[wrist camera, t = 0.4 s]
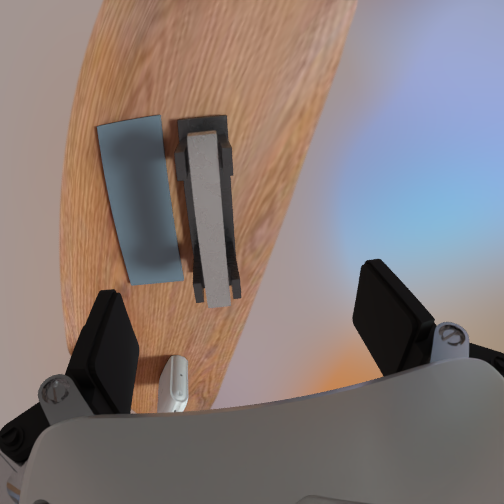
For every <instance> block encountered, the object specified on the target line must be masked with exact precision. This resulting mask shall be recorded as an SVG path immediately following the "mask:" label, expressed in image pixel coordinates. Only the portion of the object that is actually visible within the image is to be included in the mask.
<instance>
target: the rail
mask: <svg viewBox="0 0 504 504" xmlns="http://www.w3.org/2000/svg"><path fill="white" fill-rule="evenodd" d="M187 143H188V153H189V163H190V173H191V183H192V192H193V200H194V209H195V217H196V225H197V233H198V241H199V248H200V255H201V262H202V269H203V276H204V283H205V290H206V296H207V302H208V308H215V307H224V306H231V301H230V291H229V281H228V270H227V259H226V248H225V237H224V225H223V213H222V201H221V188H220V175H219V161H218V147H217V133H216V131H205V132H195V133H188V135H187Z"/></svg>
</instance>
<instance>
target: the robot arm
mask: <svg viewBox="0 0 504 504" xmlns="http://www.w3.org/2000/svg"><path fill="white" fill-rule="evenodd" d="M434 320H435V319H434V318H433V316H432V315H431V314H430V313H429V312H428V311H427V309H426V308H425V307H424V306H423V305H422V304H421V303H420V301H419V300H418V299H417V298H416V297H415V296H414V295H413V294H412V292H411V291H410V290H409V289H408V288H407V287H406V286H405V285H404V284H403V283H402V281H401V280H400V279H399V278H398V277H397V276H396V275H395V274H394V273H393V272H392V271H391V270H390V269H389V268H388V267H387V265H386V264H384V262H383V261H382V260H381V259H374V260H367V261H366V262H365V264H364V265H362V266H361V271H360V277H359V284H358V290H357V296H356V301H355V307H354V312H353V324H354V326H355V328H356V329H357V331H358V333H359V334H360V336H361V338H362V340H363V341H364V343H365V345H366V346H367V348H368V350H369V352H370V353H371V355H372V357H373V359H374V360H375V362H376V364H377V366H378V367H379V369H380V371H381V373H382V374H383V376H384V377H381V378H377V379H374V380H370V381H366V382H363V383H359V384H355V385H351V386H347V387H343V388H339V389H335V390H330V391H326V392H321V393H317V394H312V395H307V396H302V397H296V398H291V399H285V400H280V401H274V402H268V403H261V404H254V405H247V406H239V407H230V408H221V409H213V410H212V409H211V410H200V411H186V412H168V413H143V414H130V411H131V403H132V396H133V389H134V382H135V376H136V369H137V363H138V357H139V345H138V342H137V339H136V336H135V334H134V331H133V328H132V325H131V323H130V320H129V317H128V314H127V311H126V308H125V305H124V302H123V299H122V296H121V294H120V293H116V291H115V290H114V289H111V290H101V291H100V292H99V293H98V296H97V298H96V300H95V303H94V305H93V307H92V310H91V312H90V314H89V317H88V319H87V322H86V324H85V326H83V328H82V330H81V333H80V335H79V338H78V340H77V343H76V345H75V348H74V351H73V353H72V356H71V359H70V362H69V364H68V367H67V370H66V373H65V375H62V374H58V375H53V376H51V377H49V378H48V379H46V380H45V381H44V382H43V383H42V384H41V386H40V388H39V390H38V398H39V403H37V404H35V405H34V406H33V407H31V408H30V409H28V410H27V411H25V412H24V413H22V414H21V415H19V416H18V417H17V418H15V419H14V420H12V421H10V422H9V423H7V424H6V425H5V426H4V427H3V428H2V429H1V431H0V504H504V354H503V353H501V352H498V351H494V350H491V349H488V348H485V347H482V346H478V345H475V344H472V343H469V336H468V334H467V332H466V331H465V329H464V328H462V327H461V326H459V325H457V324H455V323H452V322H443V323H440V324H439V325H437V326H436V324H435V323H434Z"/></svg>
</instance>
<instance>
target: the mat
mask: <svg viewBox="0 0 504 504" xmlns="http://www.w3.org/2000/svg"><path fill="white" fill-rule="evenodd" d="M97 131H98V138H99V145H100V151H101V157H102V163H103V169H104V175H105V180H106V185H107V190H108V195H109V200H110V205H111V209H112V214H113V218H114V222H115V227H116V231H117V235H118V239H119V243H120V247H121V250H122V254H123V258H124V262H125V265H126V269H127V272H128V276H129V279H130V282H131V285H142V284H153V283H163V282H174V281H184V277H183V271H182V266H181V260H180V255H179V249H178V243H177V237H176V231H175V225H174V218H173V212H172V205H171V198H170V191H169V184H168V176H167V169H166V160H165V152H164V143H163V134H162V124H161V115H156V116H149V117H143V118H137V119H131V120H126V121H120V122H115V123H110V124H105V125H101V126H97Z"/></svg>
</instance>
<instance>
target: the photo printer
mask: <svg viewBox="0 0 504 504" xmlns="http://www.w3.org/2000/svg"><path fill="white" fill-rule="evenodd" d="M187 401H188V360H186V359H185V358H184V357H183V356H180V355H174V356H171V357H170V358H169V360H168V362H167V363H166V365H165V367H164V369H163V371H162V374H161V376H160V380H159V390H158V409H157V413H168V412H183V411H184V409H185V407H186V404H187Z"/></svg>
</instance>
